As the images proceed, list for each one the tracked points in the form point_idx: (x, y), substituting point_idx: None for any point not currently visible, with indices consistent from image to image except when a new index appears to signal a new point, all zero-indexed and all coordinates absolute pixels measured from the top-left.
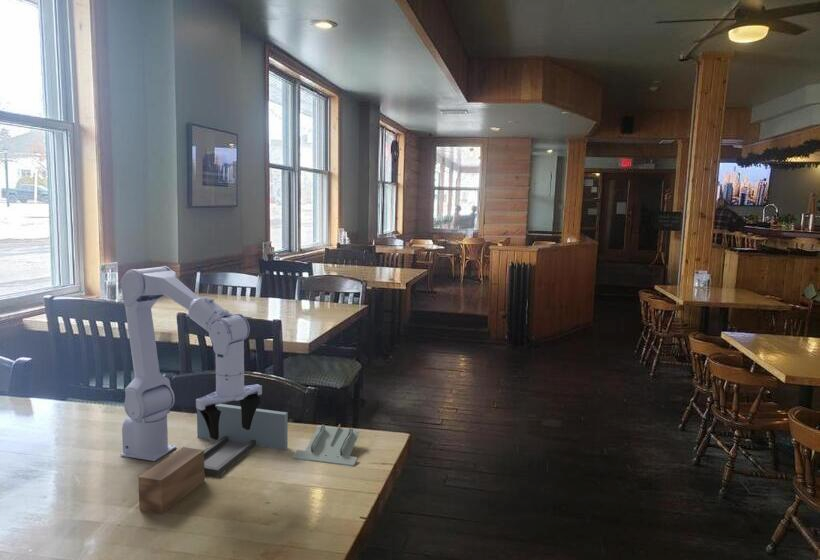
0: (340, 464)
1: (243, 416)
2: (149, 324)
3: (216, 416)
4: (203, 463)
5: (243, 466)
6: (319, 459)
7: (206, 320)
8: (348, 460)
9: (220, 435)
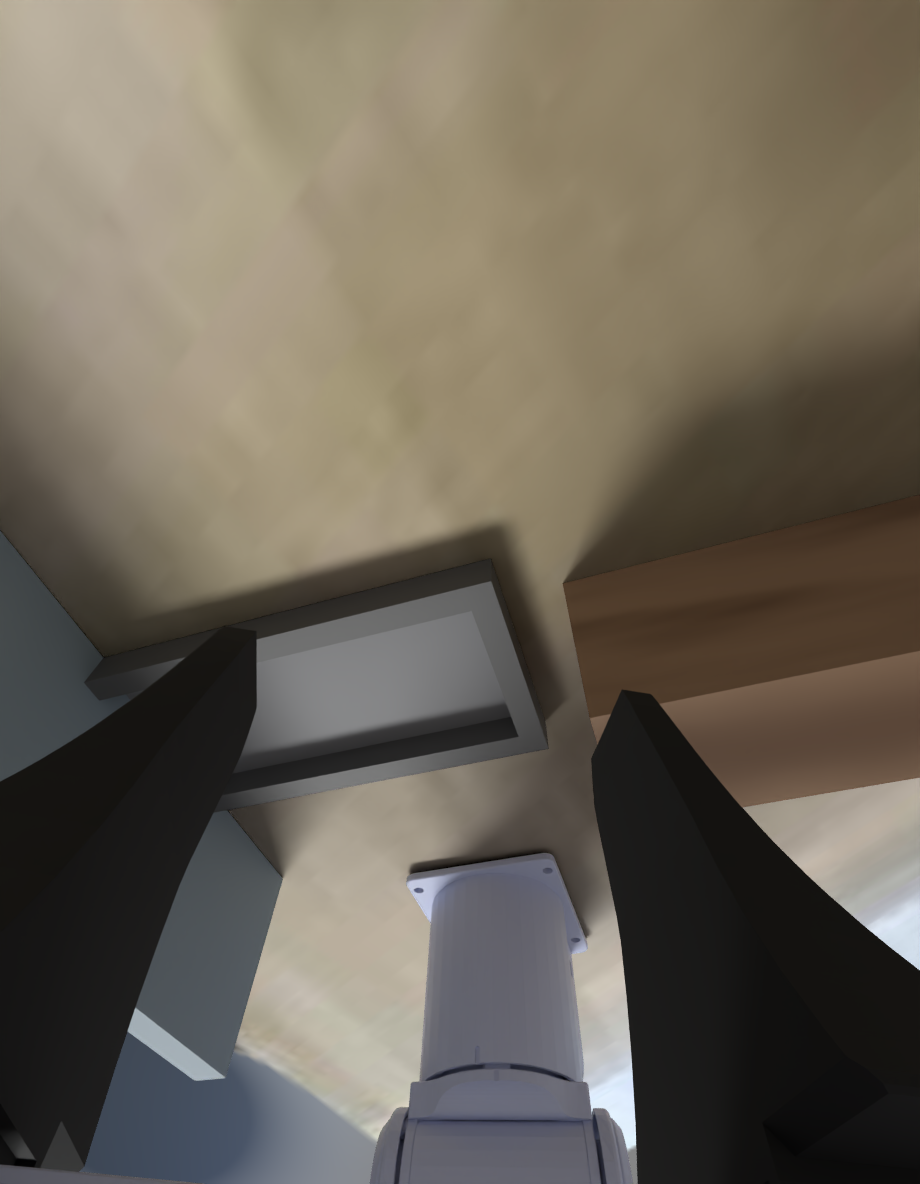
0: None
1: (200, 807)
2: None
3: (856, 977)
4: (583, 649)
5: (306, 535)
6: None
7: None
8: None
9: (211, 829)
